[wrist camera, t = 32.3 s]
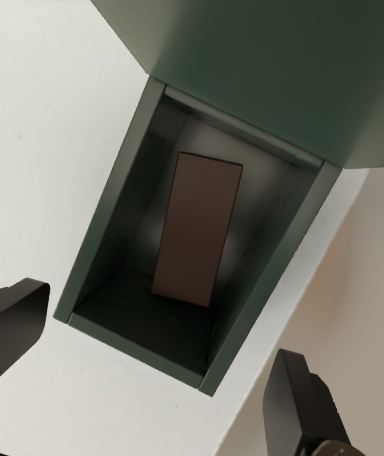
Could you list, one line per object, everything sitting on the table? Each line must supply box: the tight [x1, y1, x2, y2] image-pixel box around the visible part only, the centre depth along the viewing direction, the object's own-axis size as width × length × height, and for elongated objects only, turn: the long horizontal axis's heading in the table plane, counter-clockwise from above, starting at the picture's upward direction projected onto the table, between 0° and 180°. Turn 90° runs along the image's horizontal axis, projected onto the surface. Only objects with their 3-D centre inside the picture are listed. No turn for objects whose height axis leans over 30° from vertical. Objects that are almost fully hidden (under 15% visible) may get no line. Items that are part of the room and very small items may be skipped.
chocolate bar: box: [150, 152, 243, 307], centre depth 19 cm, size 3×8×3 cm, turn 167°
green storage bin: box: [53, 75, 343, 397], centre depth 17 cm, size 11×8×8 cm
